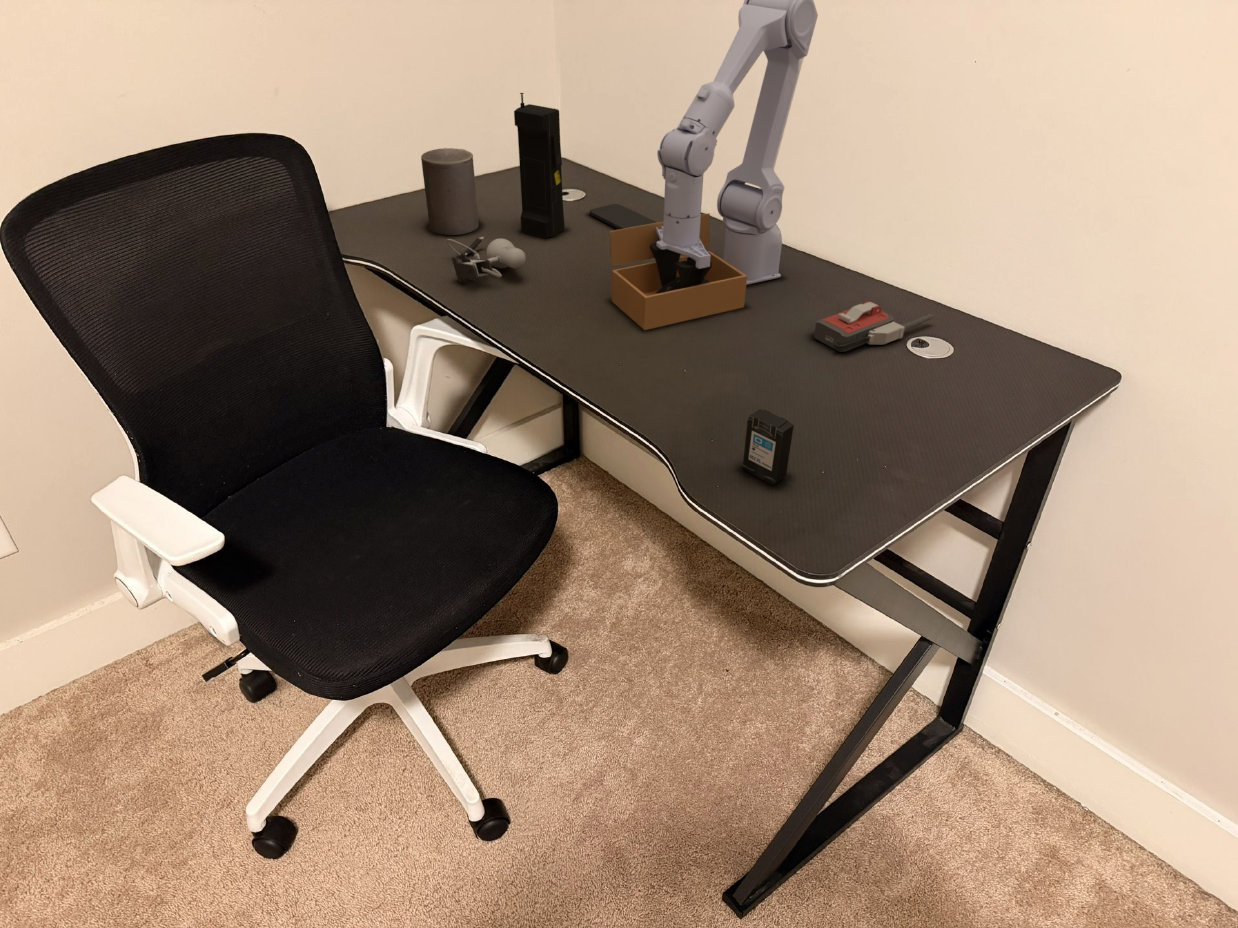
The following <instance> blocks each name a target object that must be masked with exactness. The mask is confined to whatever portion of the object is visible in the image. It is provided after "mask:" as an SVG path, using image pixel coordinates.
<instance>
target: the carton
mask: <svg viewBox="0 0 1238 928" xmlns="http://www.w3.org/2000/svg"><path fill="white" fill-rule="evenodd" d="M706 251H707V253H709V254H710V255H711V256H710V261H711V262H712V267H711V269H710V270H709V271H708V273H707V274H706V276H705V277H704V279H706V280H708V281H709V282H710V283H705V284H701V285H696V286H692V287H687V288H682V289H678V290H673V291H668V292H664V293H659V294H656V293H657V291H659V290H660V289H661V288H662V285H661V281H660V276H659V271H658V267H657V263H656V260H655V261H651V262H646V263H641V264H636V265H630V266H625V267H620V268H615V269H611V302H612V303H613V304H614V305H615V306H616V307H617V308H619V309H620V310H621V311H622V312H623V313H624V314H625V315H627V317H629V318H630V319H631V320H632V321H633V322H635V324H636V325H638V326H639V327H640V328H641V329H642V330H644V331H647V330H651V329H652V330H653V329H656V328H661V327H665V326H669V325H673V324H678V323H682V322H686V321H691V320H694V319H695V320H696V319H699V318H703V317H708V316H712V315H716V314H721V313H725V312H730V311H734V310H737V309H738V310H739V309H742V308H745V302H746V291H747V285H746V284H747V275H745V274H744V273H742V272H741V271H739V270H738V269H736V268H735V267H733V266H732V265H730V264H729V263H727V262H726V261H724V260H723V258H721V257H720V256H718V255H716V254H715V253H714V252H712V251H711V250H706ZM682 261H687V257H686V256H685V255H680V259H679V262H682ZM677 277H679V273H678V270H677V276H676V278H677Z"/></svg>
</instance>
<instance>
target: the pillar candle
mask: <svg viewBox="0 0 1238 928" xmlns="http://www.w3.org/2000/svg"><path fill="white" fill-rule="evenodd" d="M420 160H421V168H422V176H423V186H424V192H425V199H426V200H425V201H426V209H427V217H428V223H429V226H428V228H429V230H430V231H431V232H433V233H435V234H438V235H442V236H460V235H466V234H469V233H472V232H474V231H476V230H478V228H479V210H478V200H477V190H476V189H477V188H476V177H475V167H474V154H473V153H472V152H471V151H469V150H466V149H464V148H454V147H449V148H448V147H443V148H435V149H430V150H428V151H425V152H423V153H422V154H421V157H420Z"/></svg>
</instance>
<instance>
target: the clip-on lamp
mask: <svg viewBox="0 0 1238 928" xmlns="http://www.w3.org/2000/svg"><path fill="white" fill-rule="evenodd" d="M484 239H485V237H484V236H480V237H477V238H476V239H475V240H474V241H473V242H472V243H471V244H470V245H469V246H467V245H465V244H463V243H462V242H459V241H458V240H457V241H456V240H455V239H452V238H447V239H446V243H447V245H448V247H450V249H451V250H452V251H454V252H455V254H457V255H459V256H460V259H461V262H460V261H459V259H458V257H457V256H453V257H451V261H452V264H453V268H454V271H455V275H456V279H457V281H458V282H460V283H462V282H464V279H467V280H470V281H475V282H476V281H479V279H480V278H479V277H483V276H491V275H492V276H494V277H496V278H499V279H501V278H502V276H503V275H502V274H501V272H500V271H498V269H507V268H510V269H514V270H519V269H522V268H523V267H524V265H525V264H526V260H527V259H526V258H527V257H526V253H525V251H523V250H522V249H520V248H518V247H516V246H514V244H513V243H512V242H511V241H510V240H508V239H506V238H496V239H493V240H491V242H490V243H489V244H488V246H487V248H486V253H485V254H486V259H485V258H480V254H479V253H478V252H477V251H475V250H476V248H479V247H478V246H479V245H480V244H481V243H482V242H483V240H484ZM450 242H452V243H454V244H456V245H459V246H460V247H463V248H465V249H466V250H465V251H464V253H459V252H458V251H457V250H456V249H455V248H454V247H453V246H452V245H451V243H450ZM472 253H473V254H474V255H473V258H468V256H467V255H471V254H472ZM494 267H495V268H494Z"/></svg>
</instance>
